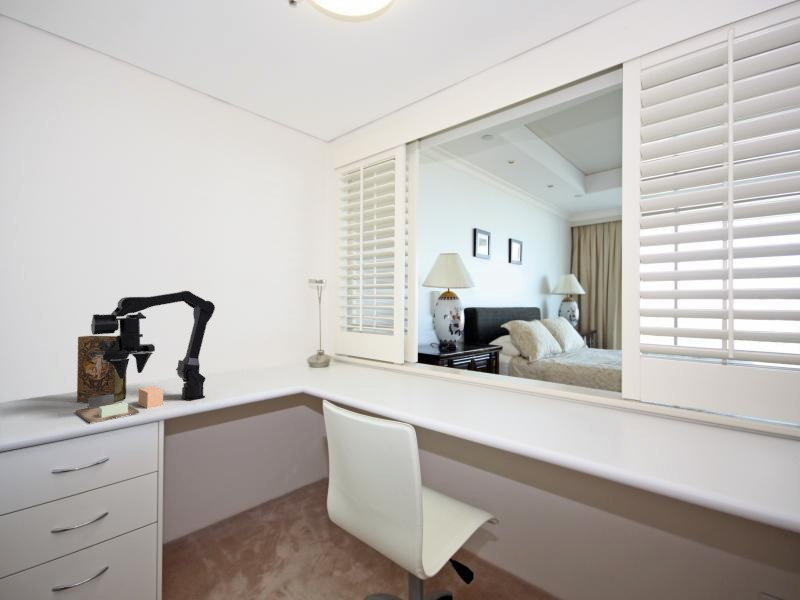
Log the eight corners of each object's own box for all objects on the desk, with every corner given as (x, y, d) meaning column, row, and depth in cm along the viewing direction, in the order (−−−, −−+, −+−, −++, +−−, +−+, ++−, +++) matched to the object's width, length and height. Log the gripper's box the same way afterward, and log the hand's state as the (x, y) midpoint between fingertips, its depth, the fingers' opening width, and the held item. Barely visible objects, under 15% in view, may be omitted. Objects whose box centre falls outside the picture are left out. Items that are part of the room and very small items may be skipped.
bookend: (111, 403, 132) (112, 392, 132) (114, 405, 130) (114, 393, 130) (87, 408, 126) (87, 396, 126) (89, 409, 125) (89, 398, 125)
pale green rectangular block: (124, 410, 123) (124, 402, 123) (127, 412, 121) (127, 403, 121) (98, 416, 118) (99, 406, 118) (101, 417, 116) (101, 408, 116)
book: (74, 402, 136) (75, 337, 137) (88, 398, 142) (88, 335, 142) (113, 404, 135) (114, 337, 135) (126, 400, 140) (126, 336, 140)
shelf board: (121, 404, 134) (121, 401, 134) (138, 413, 123) (138, 410, 123) (75, 412, 124) (75, 410, 124) (90, 423, 113) (90, 420, 113)
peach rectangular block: (153, 401, 139) (153, 386, 139) (163, 405, 133) (163, 389, 133) (138, 404, 135) (138, 388, 135) (147, 409, 129) (147, 392, 129)
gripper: (124, 330, 137) (125, 370, 137) (84, 335, 118) (86, 382, 118) (155, 329, 137) (156, 369, 138) (120, 334, 119) (121, 381, 119)
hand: (131, 375), depth 128 cm, fingers open, 9 cm apart
